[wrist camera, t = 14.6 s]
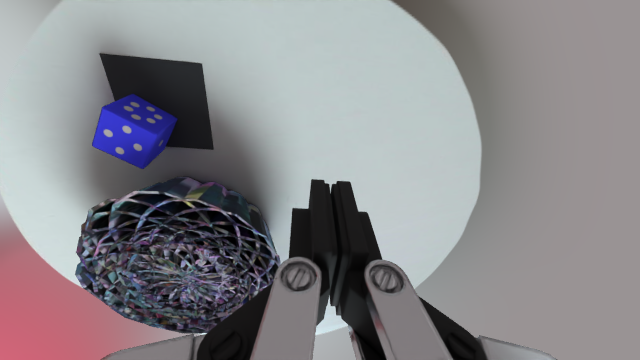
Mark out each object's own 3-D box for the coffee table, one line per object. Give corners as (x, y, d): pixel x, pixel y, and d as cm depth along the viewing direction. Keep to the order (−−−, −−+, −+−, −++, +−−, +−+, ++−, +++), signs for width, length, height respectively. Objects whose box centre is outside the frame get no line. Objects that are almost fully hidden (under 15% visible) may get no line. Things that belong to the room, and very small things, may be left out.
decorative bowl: (129, 266, 45) (90, 325, 37) (97, 131, 29) (17, 182, 21) (271, 286, 50) (264, 341, 42) (308, 179, 34) (307, 235, 26)
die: (164, 150, 32) (142, 170, 27) (120, 128, 30) (90, 146, 26) (178, 118, 29) (157, 134, 25) (132, 92, 28) (101, 106, 24)
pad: (100, 53, 26) (99, 53, 26) (201, 63, 27) (201, 63, 27) (129, 143, 31) (129, 143, 31) (213, 149, 32) (213, 149, 32)
